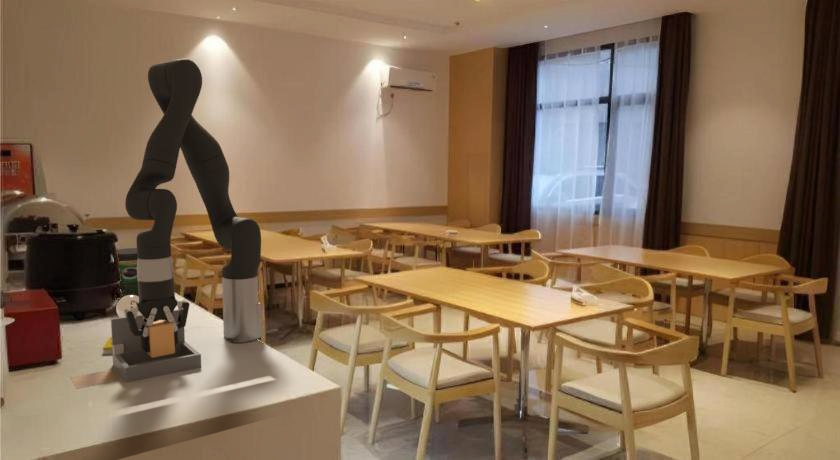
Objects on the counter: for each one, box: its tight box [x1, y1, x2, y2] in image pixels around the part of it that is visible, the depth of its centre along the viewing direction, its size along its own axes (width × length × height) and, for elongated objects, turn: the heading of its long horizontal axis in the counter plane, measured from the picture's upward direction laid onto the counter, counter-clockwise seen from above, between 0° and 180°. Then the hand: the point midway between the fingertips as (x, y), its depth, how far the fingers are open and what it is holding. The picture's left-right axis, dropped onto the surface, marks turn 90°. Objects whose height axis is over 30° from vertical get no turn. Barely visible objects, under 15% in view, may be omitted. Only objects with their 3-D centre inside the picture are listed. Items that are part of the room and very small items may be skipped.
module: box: [147, 320, 175, 358], centre depth 137 cm, size 5×5×7 cm
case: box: [110, 308, 202, 383], centre depth 138 cm, size 16×13×12 cm
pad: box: [70, 369, 119, 390], centre depth 130 cm, size 8×8×1 cm
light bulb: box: [115, 295, 142, 318], centre depth 161 cm, size 7×7×12 cm
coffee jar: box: [115, 247, 139, 304], centre depth 199 cm, size 10×8×19 cm
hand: (160, 348), depth 137 cm, fingers closed on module, 5 cm apart
